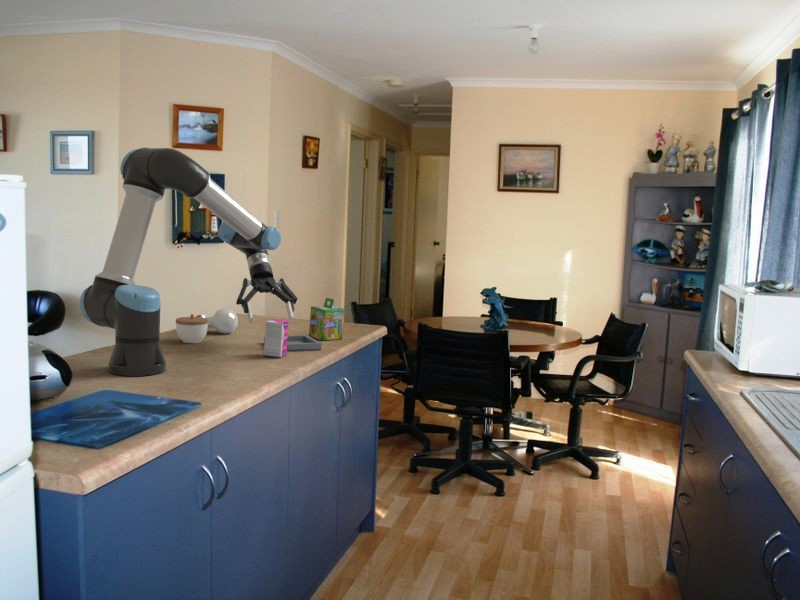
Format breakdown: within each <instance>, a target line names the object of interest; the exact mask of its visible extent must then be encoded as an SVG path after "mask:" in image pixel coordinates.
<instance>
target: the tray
mask: <svg viewBox="0 0 800 600" xmlns="http://www.w3.org/2000/svg"><path fill="white" fill-rule="evenodd" d="M263 338H264V340H263V343H264V344H265V335H264V337H263ZM287 351H288V352H303V351H304V352H309V351H311V352H312V351H322V342H320V341H318V339H315V338H312V337H309V335H307V334H305V335H303V334H299V335H297V334H296V335H295V334H294V335H287Z"/></svg>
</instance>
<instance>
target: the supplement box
mask: <svg viewBox="0 0 800 600" xmlns="http://www.w3.org/2000/svg"><path fill="white" fill-rule="evenodd" d="M288 331H289V320H281V319H269V320H266V321H265V331H264V336H265V343H264V348H263V350H264V351H263V357H264V358H270V357H271V358H272V359H281V358H283V357H286V356H287V353H288V352H287V336H289V335H288V333H289V332H288Z"/></svg>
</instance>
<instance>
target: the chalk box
mask: <svg viewBox="0 0 800 600" xmlns="http://www.w3.org/2000/svg"><path fill="white" fill-rule="evenodd" d="M328 302H329V303H330V304H329V305H328ZM334 302H335V301H334V299H333V298H328V297H326V298H325V300H324V304H323V305H317V306H316V305H315V306H312V305H311V306H310V313H309V315H310V316H309V317H310V318H309V331H308V336H309V337H311V338H313V339H315V340H318V339H319V341H321V340H322V342H325V340H327V341H336V339H339V340H343V333H344V331H343V330H344V329H343V328H344V318H345V317H344V314H345V310H344V308H341V307H339V306H338V307H337V306H334V305H333V304H334Z"/></svg>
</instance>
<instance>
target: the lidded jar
mask: <svg viewBox="0 0 800 600" xmlns="http://www.w3.org/2000/svg"><path fill="white" fill-rule="evenodd" d="M175 329H176V331H175V332H176V334H177V336H178V338H179V339H180V341H181V342H182V343H185V344H198V343H199V344H200V343H201V342H202V340H203V339H205V337H206V336H207V333H208V329H209V328H208V319H207V318H202V317H196V316H194V314H193V313H191V314H190V316H183V317H182V316H181V317H177V318H175Z"/></svg>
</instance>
